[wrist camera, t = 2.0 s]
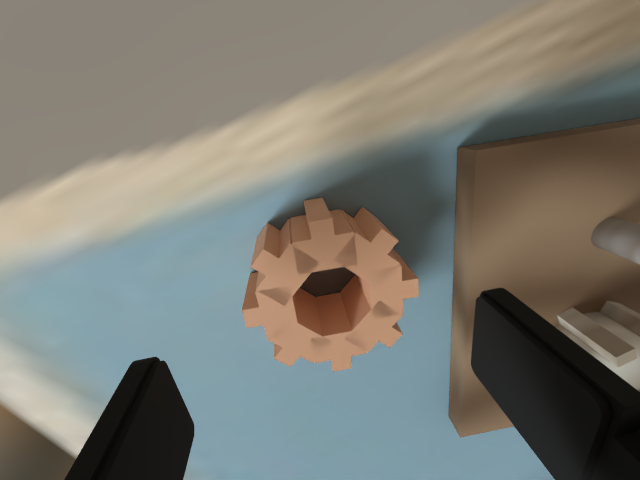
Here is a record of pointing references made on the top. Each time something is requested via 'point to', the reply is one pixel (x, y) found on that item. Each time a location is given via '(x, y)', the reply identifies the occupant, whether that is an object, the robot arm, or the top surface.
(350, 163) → the top surface
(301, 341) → the terracotta gear
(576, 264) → the gear board
